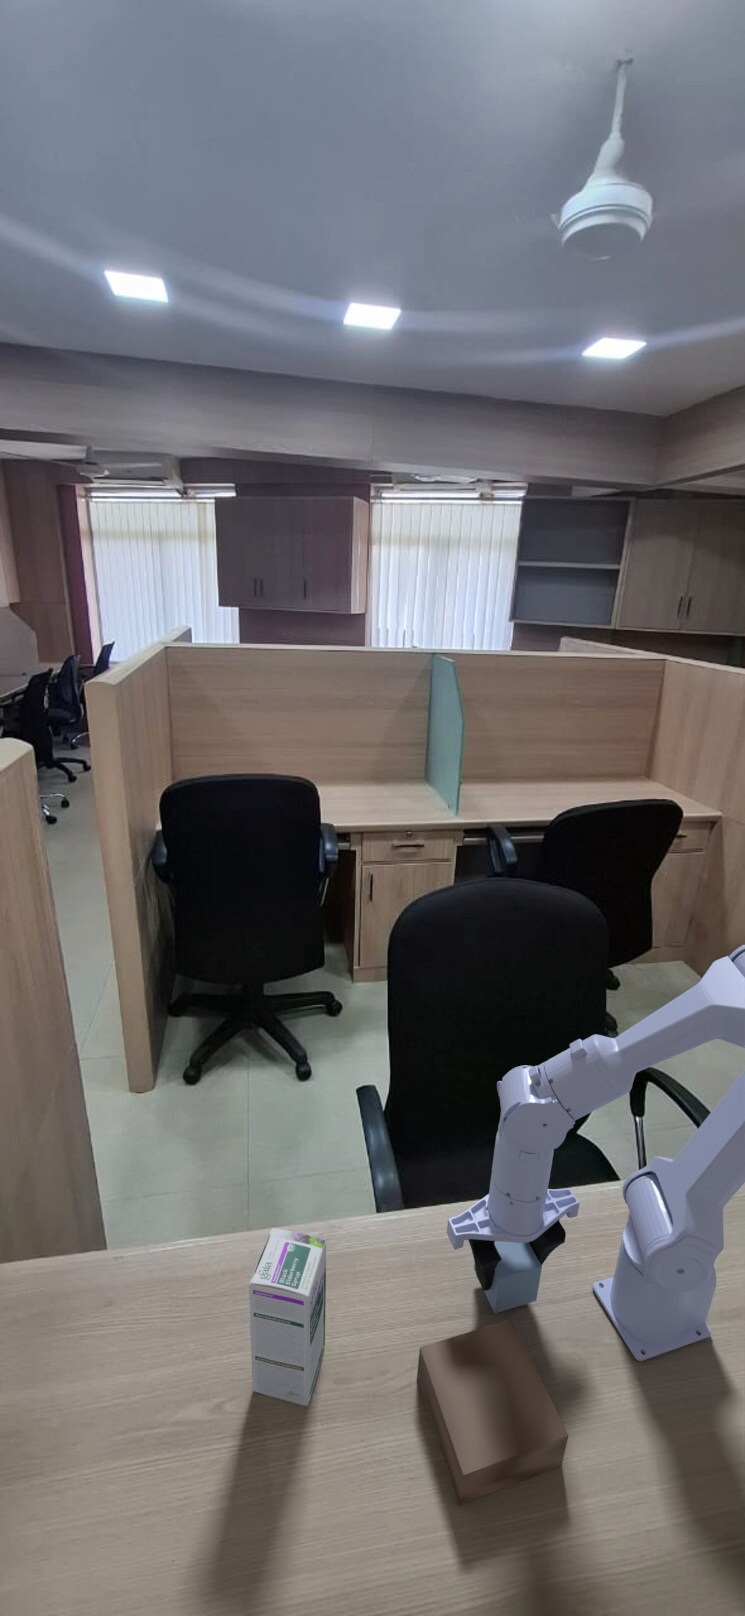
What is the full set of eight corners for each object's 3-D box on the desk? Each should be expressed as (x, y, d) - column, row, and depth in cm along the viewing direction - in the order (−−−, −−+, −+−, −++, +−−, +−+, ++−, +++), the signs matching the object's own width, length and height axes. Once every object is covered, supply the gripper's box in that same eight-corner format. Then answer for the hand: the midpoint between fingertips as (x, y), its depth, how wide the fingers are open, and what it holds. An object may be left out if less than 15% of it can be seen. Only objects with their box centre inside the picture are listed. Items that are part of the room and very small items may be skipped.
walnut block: (507, 1346, 67) (512, 1318, 66) (561, 1464, 58) (568, 1435, 57) (417, 1375, 64) (419, 1347, 63) (459, 1505, 55) (463, 1475, 54)
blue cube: (513, 1257, 74) (518, 1224, 73) (536, 1300, 70) (541, 1266, 68) (473, 1268, 73) (478, 1235, 72) (494, 1313, 69) (499, 1278, 67)
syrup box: (309, 1409, 61) (312, 1298, 56) (249, 1392, 62) (248, 1282, 57) (325, 1344, 66) (329, 1238, 62) (270, 1330, 67) (270, 1224, 63)
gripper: (559, 1134, 73) (544, 1226, 77) (439, 1161, 68) (430, 1257, 73) (597, 1187, 66) (579, 1283, 70) (468, 1220, 62) (456, 1321, 66)
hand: (505, 1274), depth 71 cm, fingers closed on blue cube, 5 cm apart
